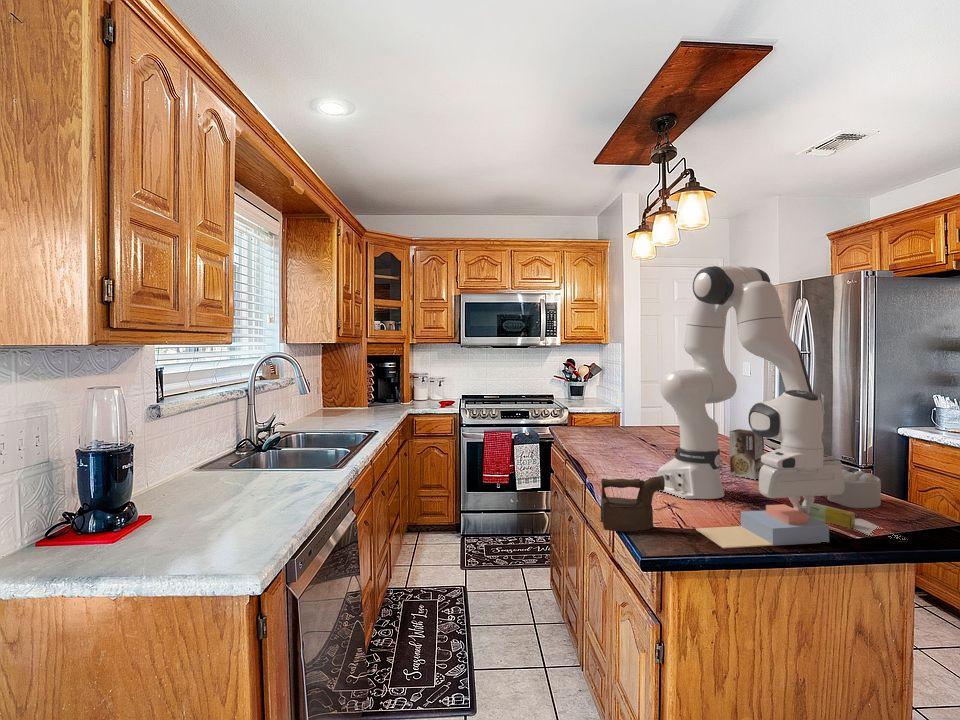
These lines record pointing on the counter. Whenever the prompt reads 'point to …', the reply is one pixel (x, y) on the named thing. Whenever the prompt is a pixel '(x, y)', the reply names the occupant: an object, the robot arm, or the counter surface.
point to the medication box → (832, 515)
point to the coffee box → (746, 453)
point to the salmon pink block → (787, 514)
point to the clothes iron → (629, 505)
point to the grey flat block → (784, 529)
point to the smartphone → (868, 527)
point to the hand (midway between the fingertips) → (801, 513)
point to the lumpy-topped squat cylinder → (859, 490)
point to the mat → (733, 537)
